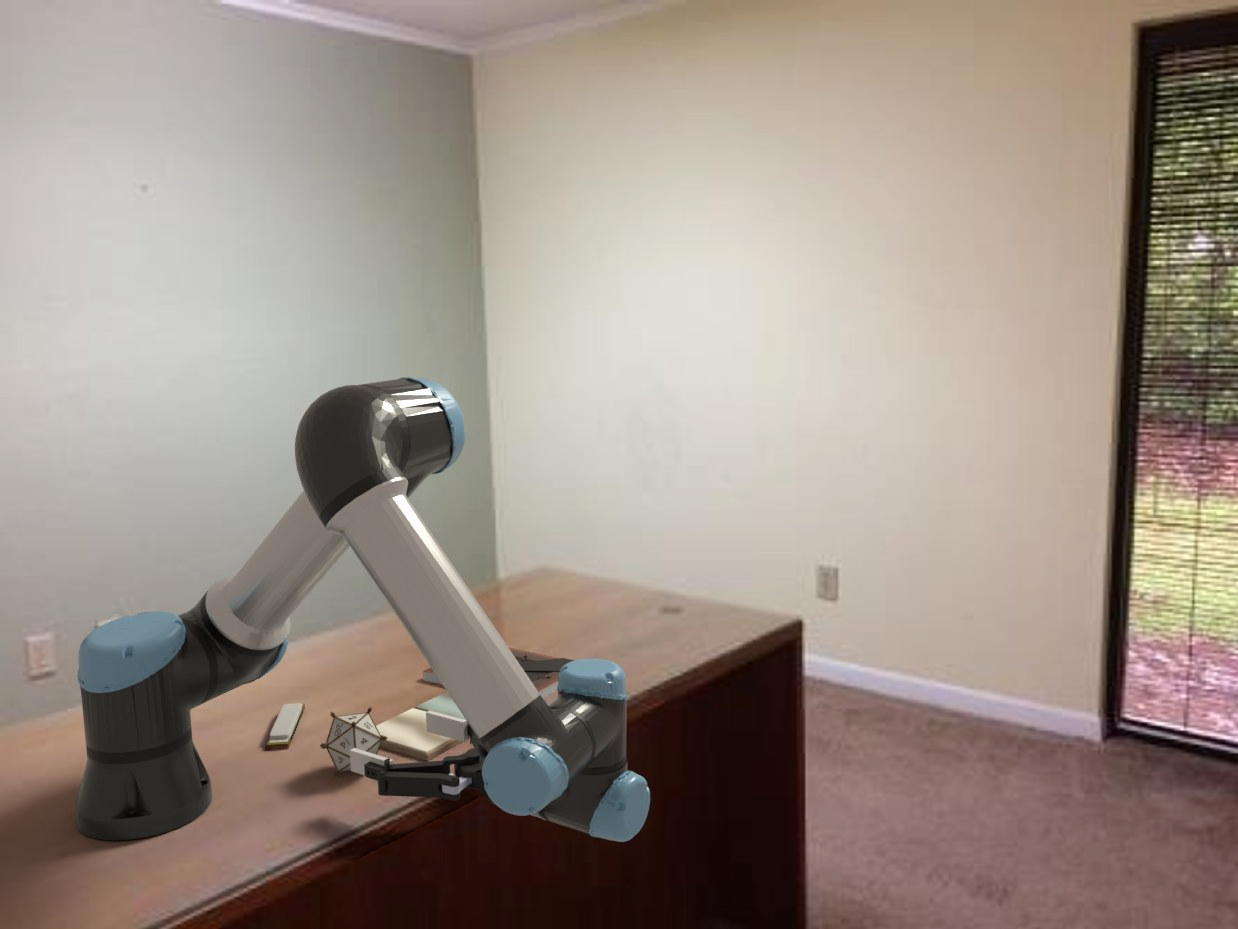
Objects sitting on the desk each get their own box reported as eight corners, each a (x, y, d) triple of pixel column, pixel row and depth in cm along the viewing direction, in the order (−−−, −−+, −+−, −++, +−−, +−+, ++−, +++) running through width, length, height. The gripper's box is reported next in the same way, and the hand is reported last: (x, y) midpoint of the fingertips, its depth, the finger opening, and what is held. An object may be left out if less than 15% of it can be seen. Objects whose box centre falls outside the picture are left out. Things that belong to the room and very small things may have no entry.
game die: (363, 801, 136) (364, 764, 129) (306, 775, 137) (304, 736, 130) (397, 746, 142) (400, 708, 136) (343, 721, 144) (343, 682, 137)
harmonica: (284, 712, 158) (283, 699, 157) (305, 711, 158) (304, 698, 158) (265, 753, 143) (265, 739, 143) (288, 752, 144) (287, 738, 144)
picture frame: (588, 677, 172) (486, 654, 183) (588, 662, 172) (486, 641, 183) (529, 710, 158) (423, 684, 169) (529, 695, 158) (422, 669, 169)
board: (427, 761, 140) (427, 753, 139) (358, 740, 146) (358, 732, 146) (525, 706, 158) (525, 699, 158) (460, 690, 165) (460, 683, 165)
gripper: (455, 856, 112) (318, 807, 123) (584, 767, 133) (456, 732, 144) (453, 791, 110) (315, 747, 122) (583, 711, 131) (455, 680, 142)
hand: (391, 739), depth 133 cm, fingers open, 13 cm apart
